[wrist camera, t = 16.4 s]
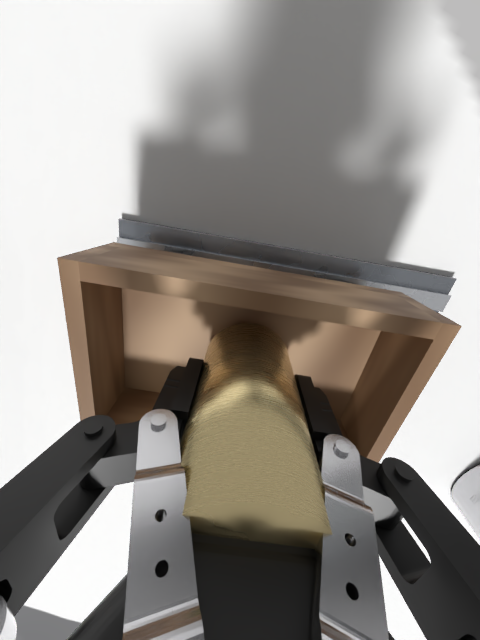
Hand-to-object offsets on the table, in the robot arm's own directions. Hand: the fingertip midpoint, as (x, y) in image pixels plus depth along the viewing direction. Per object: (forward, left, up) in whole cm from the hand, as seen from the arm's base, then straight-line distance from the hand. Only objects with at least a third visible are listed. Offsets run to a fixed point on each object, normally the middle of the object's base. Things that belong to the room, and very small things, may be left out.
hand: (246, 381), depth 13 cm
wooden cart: (0, 0, -7) cm, 7 cm away
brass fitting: (0, 0, -2) cm, 2 cm away
